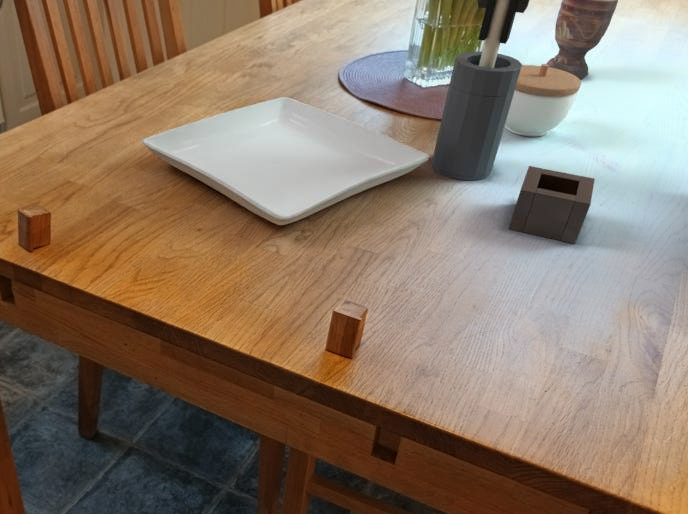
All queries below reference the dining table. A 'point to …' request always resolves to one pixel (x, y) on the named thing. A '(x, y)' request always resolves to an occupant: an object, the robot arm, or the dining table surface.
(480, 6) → the robot arm
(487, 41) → the brush
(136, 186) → the dining table surface
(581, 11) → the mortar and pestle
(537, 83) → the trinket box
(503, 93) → the dark grey cylindrical container
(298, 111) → the square plate
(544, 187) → the holder
